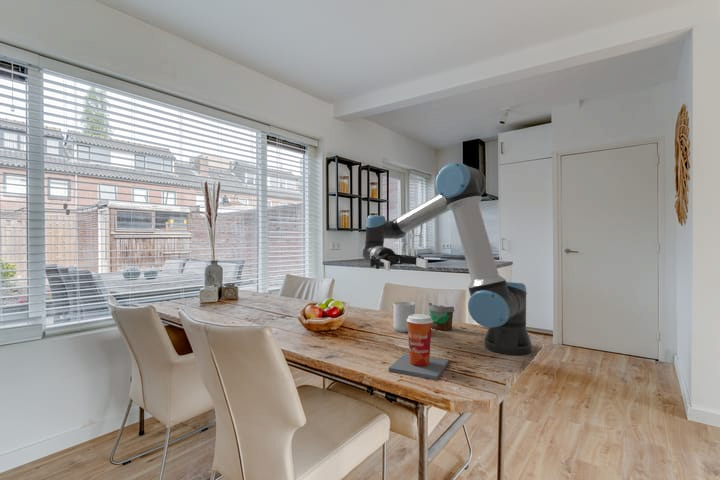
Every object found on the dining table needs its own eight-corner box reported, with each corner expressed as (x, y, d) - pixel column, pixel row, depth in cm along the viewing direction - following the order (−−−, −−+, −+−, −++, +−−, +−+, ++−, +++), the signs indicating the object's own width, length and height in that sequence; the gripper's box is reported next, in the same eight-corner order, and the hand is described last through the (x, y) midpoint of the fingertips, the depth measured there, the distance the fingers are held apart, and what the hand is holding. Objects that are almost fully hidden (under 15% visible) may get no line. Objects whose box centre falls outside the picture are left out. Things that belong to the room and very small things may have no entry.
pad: (448, 363, 108) (448, 360, 108) (436, 379, 96) (436, 376, 95) (404, 356, 114) (404, 353, 114) (388, 371, 102) (388, 367, 102)
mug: (410, 334, 140) (410, 306, 140) (389, 331, 145) (389, 304, 145) (420, 327, 151) (420, 301, 151) (401, 324, 155) (401, 299, 155)
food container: (421, 327, 150) (421, 304, 150) (430, 325, 154) (430, 302, 154) (445, 333, 141) (445, 308, 141) (454, 330, 145) (454, 306, 145)
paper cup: (402, 364, 104) (402, 317, 104) (413, 357, 111) (413, 312, 110) (427, 370, 100) (427, 320, 100) (437, 362, 106) (437, 315, 106)
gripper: (412, 265, 139) (441, 274, 119) (351, 268, 131) (372, 278, 111) (412, 246, 139) (441, 252, 119) (351, 247, 131) (372, 254, 111)
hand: (408, 265), depth 115 cm, fingers open, 13 cm apart
